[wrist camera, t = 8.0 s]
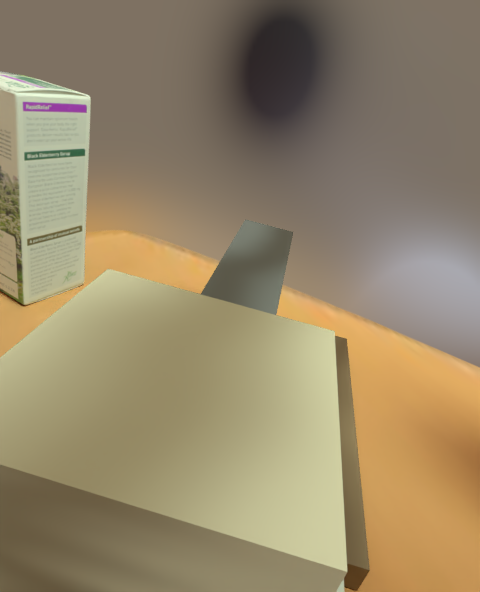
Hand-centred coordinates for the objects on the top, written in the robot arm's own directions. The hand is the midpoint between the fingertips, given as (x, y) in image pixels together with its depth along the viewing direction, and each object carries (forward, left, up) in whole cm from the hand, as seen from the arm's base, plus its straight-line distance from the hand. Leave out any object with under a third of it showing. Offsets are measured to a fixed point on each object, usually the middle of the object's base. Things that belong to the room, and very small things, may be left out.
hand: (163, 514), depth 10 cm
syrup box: (+17, -21, -9) cm, 29 cm away
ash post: (0, +1, -8) cm, 8 cm away
